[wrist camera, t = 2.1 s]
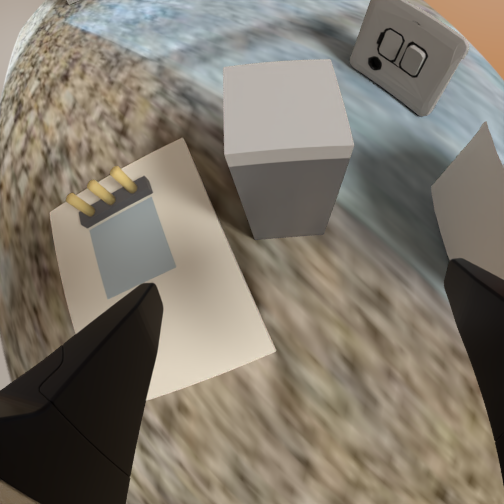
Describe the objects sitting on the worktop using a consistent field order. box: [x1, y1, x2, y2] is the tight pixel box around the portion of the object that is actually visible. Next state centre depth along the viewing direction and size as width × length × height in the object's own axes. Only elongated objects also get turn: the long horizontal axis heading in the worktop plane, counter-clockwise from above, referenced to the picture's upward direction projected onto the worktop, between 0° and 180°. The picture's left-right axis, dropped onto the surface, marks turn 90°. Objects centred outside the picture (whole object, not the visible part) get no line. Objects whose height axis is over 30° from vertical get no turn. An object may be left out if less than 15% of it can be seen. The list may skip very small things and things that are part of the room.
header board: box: [49, 138, 276, 401], centre depth 21 cm, size 18×14×5 cm
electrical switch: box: [350, 0, 469, 117], centre depth 22 cm, size 9×5×9 cm, turn 43°
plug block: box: [223, 59, 354, 240], centre depth 18 cm, size 5×5×12 cm
